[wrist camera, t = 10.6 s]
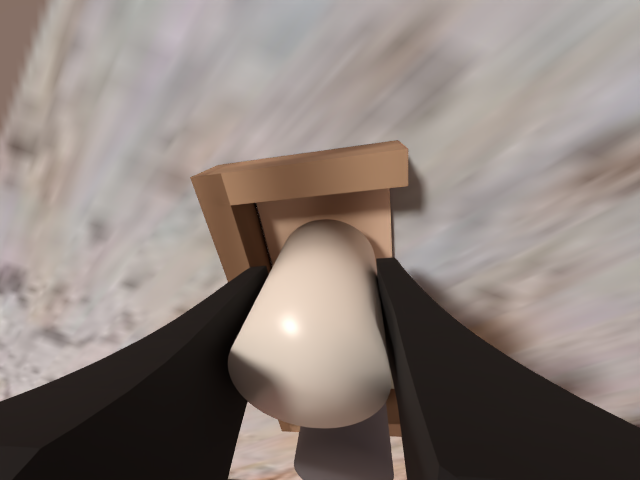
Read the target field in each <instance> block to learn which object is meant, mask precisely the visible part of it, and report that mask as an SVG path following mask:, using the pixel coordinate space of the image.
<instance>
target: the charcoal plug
mask: <svg viewBox="0 0 640 480" xmlns="http://www.w3.org/2000/svg"><path fill="white" fill-rule="evenodd" d="M294 467H295V470H296V472H297V473H298V475H299V476H300V477H301V478H302V479H303V480H393V478H394V472H393V462H392V453H391V444H390V434H389V425H388V416H387V406H386V402H385V404H384V405H383V406H382V407H381V409H380V410H379V411H377V412H376V413H375V414H374V415H372V416H371V417H369V418H368V419H365V420H363V421H361V422H359V423H356V424H353V425H349V426H344V427H338V428H310V427H303V426H300V431H299V437H298V443H297V448H296V454H295V460H294Z"/></svg>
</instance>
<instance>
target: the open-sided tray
mask: <svg viewBox="0 0 640 480" xmlns="http://www.w3.org/2000/svg"><path fill="white" fill-rule="evenodd" d="M190 178H191V181H192V184H193V186H194V189H195V192H196V195H197V197H198V200H199V203H200V206H201V208H202V211H203V214H204V217H205V220H206V222H207V225H208V228H209V231H210V233H211V236H212V239H213V242H214V244H215V247H216V250H217V253H218V255H219V258H220V261H221V264H222V266H223V269H224V272H225V275H226V277H227V280H228V282H230V281H231V280H232V279H234V278H235V277H236V276H238V275H239V274H241V273H242V272H244V271H245V270H247V269H248V268H250V267H256V266H267V270H268V274H269V273H270V271H271V269H272V266H271V262H270V258H269V255H268V251H267V247H266V243H265V240H264V236H263V232H262V228H261V225H260V221H259V217H258V213H257V210H256V206H255V203H256V204H257V208H258V212H259V215H260V219H261V223H262V227H263V230H264V234H265V238H266V242H267V246H268V249H269V253H270V257H271V261H272V265H274V264H275V262H276V260H277V258H278V256H279V254H280V252H281V250H282V248H283V246H284V244H285V242H286V240H287V238H288V237H289V236H290V234H291V233H292V232H293V231H294V230H296V229H297V228H298V227H300V226H301V225H303V224H305V223H308V222H310V221H315V220H321V219H331V220H338V221H341V222H344V223H347V224H349V225H351V226H353V227H355V228H356V229H358V230H359V231H360V232H361V233H362V234H363V235H365V237H366V238H367V239H368V241H369V242H370V244H371V246H372V248H373V251H374V254H375V261H376V259H377V258H392V242H391V211H390V188H395V187H404V186H408V148H407V147H405V146H404V145H403V144H402V143H401V142H399V141H398V140H396V141H389V142H382V143H375V144H368V145H360V146H353V147H346V148H339V149H331V150H324V151H317V152H310V153H302V154H295V155H288V156H281V157H273V158H266V159H259V160H252V161H244V162H237V163H230V164H223V165H217V166H215V167H213V168H210V169H208V170H206V171H204V172H201V173H199V174H197V175H195V176H192V177H190ZM376 269H377V265H376ZM389 369H390V366H389ZM390 376H391V389H390V393H389V396H388V399H387V400H386V406H387V416H388V425H389V434H390V436H398V437H402V435H401V427H400V419H399V412H398V405H397V399H396V394H395V389H394V384H393V380H392V375H391V371H390ZM278 421H279V424H280V427H281V429H282V431H288V432H299V431H300V426H298V425H294V424H290V423H287V422H284V421H281V420H278Z"/></svg>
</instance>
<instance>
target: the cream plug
mask: <svg viewBox="0 0 640 480" xmlns="http://www.w3.org/2000/svg"><path fill="white" fill-rule="evenodd" d="M228 371H229V374H230V378H231V380H232V382H233V384H234V386H235V387H236V389H237V390H238V391H239V393H240V394H241V395H242V396H243V397H244V398H245V399H246V400H247V401H248V402H249V403H250V404H252V405H253V406H254V407H256V408H257V409H259V410H260V411H262V412H263V413H265V414H267V415H269V416H271V417H273V418H276V419H278V420H281V421H284V422H287V423H290V424H294V425H298V426H303V427H310V428H338V427H344V426H349V425H353V424H356V423H359V422H361V421H363V420H365V419H368V418H369V417H371V416H372V415H374V414H375V413H376V412H377V411H379V410H380V409H381V407H382V406H383V405H384V404H385V402H386V400H387V399H388V396H389V393H390V389H391V376H390V369H389V361H388V353H387V346H386V338H385V330H384V323H383V315H382V307H381V300H380V294H379V287H378V279H377V269H376V261H375V254H374V251H373V248H372V246H371V244H370V242H369V241H368V239H367V238H366V237H365V235H363V234H362V233H361V232H360V231H359V230H358V229H356V228H355V227H353V226H351V225H349V224H347V223H344V222H341V221H338V220H331V219H321V220H315V221H310V222H308V223H305V224H303V225H301V226H300V227H298V228H297V229H296V230H294V231H293V232H292V233H291V234H290V236H289V237H288V238H287V240H286V242H285V244H284V246H283V248H282V250H281V252H280V254H279V256H278V258H277V260H276V262H275V264H274V265H273V267H272V269H271V271H270V273H269V275H268V277H267V279H266V281H265V283H264V285H263V287H262V289H261V291H260V293H259V295H258V297H257V299H256V301H255V303H254V305H253V307H252V309H251V311H250V312H249V314H248V316H247V318H246V320H245V322H244V324H243V326H242V328H241V330H240V332H239V334H238V336H237V338H236V340H235V342H234V344H233V346H232V348H231V350H230V353H229V356H228Z"/></svg>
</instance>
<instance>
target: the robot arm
mask: <svg viewBox="0 0 640 480" xmlns="http://www.w3.org/2000/svg"><path fill="white" fill-rule="evenodd" d="M376 265H377V279H378V287H379V294H380V300H381V307H382V315H383V323H384V330H385V338H386V346H387V353H388V361H389V366H390V371H391V375H392V380H393V384H394V389H395V394H396V399H397V405H398V412H399V419H400V427H401V435H402V443H403V450H404V458H405V466H406V474H407V480H640V428H639V427H637V426H635V425H633V424H631V423H629V422H627V421H625V420H623V419H621V418H619V417H617V416H615V415H613V414H611V413H609V412H607V411H605V410H603V409H601V408H599V407H597V406H595V405H593V404H591V403H589V402H587V401H585V400H583V399H581V398H579V397H578V396H576V395H574V394H572V393H570V392H568V391H567V390H565V389H563V388H561V387H559V386H558V385H556V384H554V383H552V382H551V381H549V380H547V379H545V378H544V377H542V376H540V375H538V374H536V373H535V372H533V371H531V370H530V369H528V368H526V367H525V366H523V365H521V364H520V363H518V362H516V361H515V360H513V359H512V358H510V357H508V356H507V355H505V354H504V353H502V352H501V351H499V350H498V349H496V348H495V347H493V346H492V345H490V344H488V343H487V342H485V341H484V340H483V339H481V338H480V337H478V336H477V335H475V334H474V333H473V332H471V331H470V330H469V329H467V328H466V327H465V326H463V325H462V324H461V323H459V322H458V321H457V320H456V319H454V318H453V317H452V316H451V315H450V314H448V313H447V312H446V311H445V310H444V309H443V308H442V307H440V306H439V305H438V304H437V303H436V302H435V301H434V300H433V299H432V298H431V297H430V296H429V295H428V294H427V293H426V292H425V291H424V290H423V289H422V288H421V287H420V286H419V285H418V284H417V283H416V282H415V281H414V280H413V279H412V278H411V277H410V275H409V274H408V273H407V272H406V271H405V270H404V268H403V267H402V266H401V264H400V263H399V262H398V260H397V259H395V258H394V257H392V258H377V259H376ZM268 275H269V274H268V270H267V266H256V267H250V268H248V269H247V270H245V271H244V272H242V273H241V274H239V275H238V276H236V277H235V278H234V279H232V280H231V281H230V282H228V283H227V284H225V285H224V286H223V287H221V288H220V289H219V290H217V291H216V292H215V293H213V294H212V295H210V296H209V297H208V298H206V299H205V300H203V301H202V302H200V303H199V304H197V305H196V306H194V307H193V308H192V309H190V310H189V311H187V312H186V313H184V314H183V315H181V316H180V317H178V318H177V319H175V320H173V321H172V322H170V323H168V324H167V325H165V326H163V327H162V328H160V329H158V330H157V331H155V332H153V333H151V334H150V335H148V336H146V337H144V338H142V339H141V340H139V341H137V342H135V343H133V344H131V345H129V346H127V347H125V348H123V349H121V350H119V351H117V352H115V353H113V354H111V355H109V356H107V357H105V358H103V359H101V360H99V361H97V362H95V363H93V364H91V365H88V366H86V367H84V368H82V369H80V370H77V371H75V372H73V373H71V374H68V375H66V376H64V377H61V378H59V379H57V380H54V381H52V382H50V383H47V384H45V385H42V386H40V387H37V388H35V389H32V390H30V391H27V392H24V393H22V394H19V395H17V396H14V397H11V398H9V399H6V400H4V401H1V402H0V480H228V476H229V471H230V467H231V463H232V459H233V455H234V451H235V447H236V443H237V439H238V435H239V431H240V427H241V423H242V420H243V416H244V412H245V409H246V405H247V402H248V401H247V400H246V399H245V398H244V397H243V396H242V395H241V394H240V393H239V391H238V390H237V389H236V387H235V386H234V384H233V382H232V380H231V378H230V374H229V371H228V356H229V353H230V350H231V348H232V346H233V344H234V342H235V340H236V338H237V336H238V334H239V332H240V330H241V328H242V326H243V324H244V322H245V320H246V318H247V316H248V314H249V312H250V311H251V309H252V307H253V305H254V303H255V301H256V299H257V297H258V295H259V293H260V291H261V289H262V287H263V285H264V283H265V281H266V279H267V277H268Z"/></svg>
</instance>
